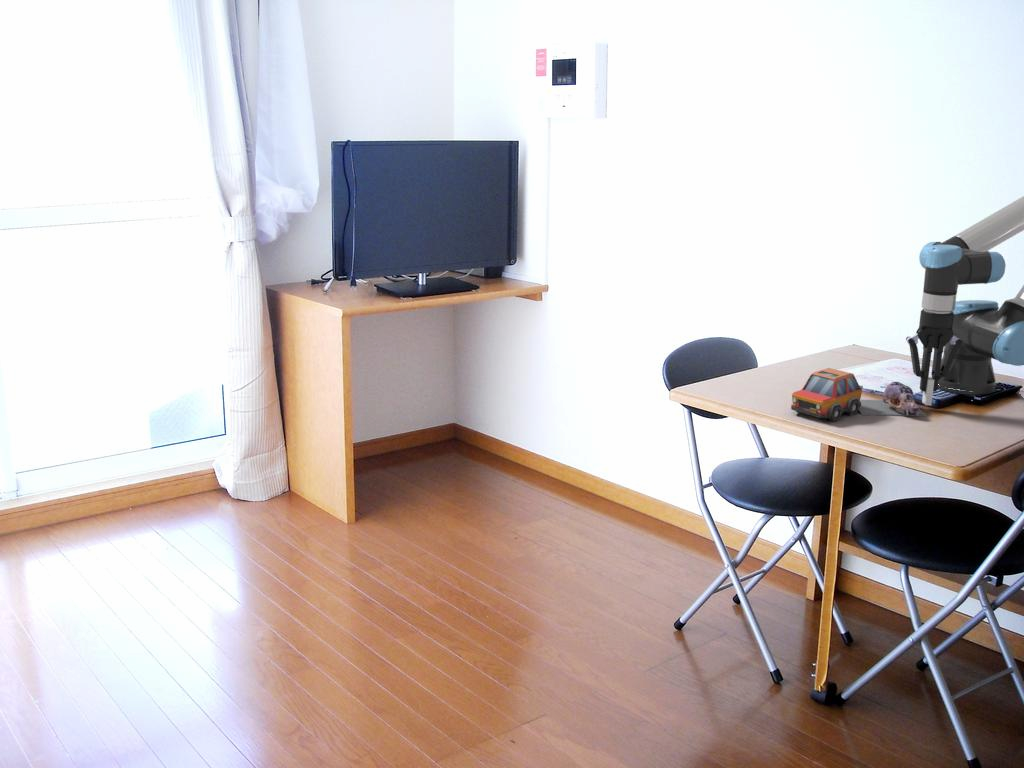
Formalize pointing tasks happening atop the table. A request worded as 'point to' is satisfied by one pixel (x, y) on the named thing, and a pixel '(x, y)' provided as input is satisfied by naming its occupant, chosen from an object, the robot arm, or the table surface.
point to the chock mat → (882, 409)
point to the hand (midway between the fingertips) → (926, 403)
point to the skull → (900, 398)
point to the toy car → (828, 395)
